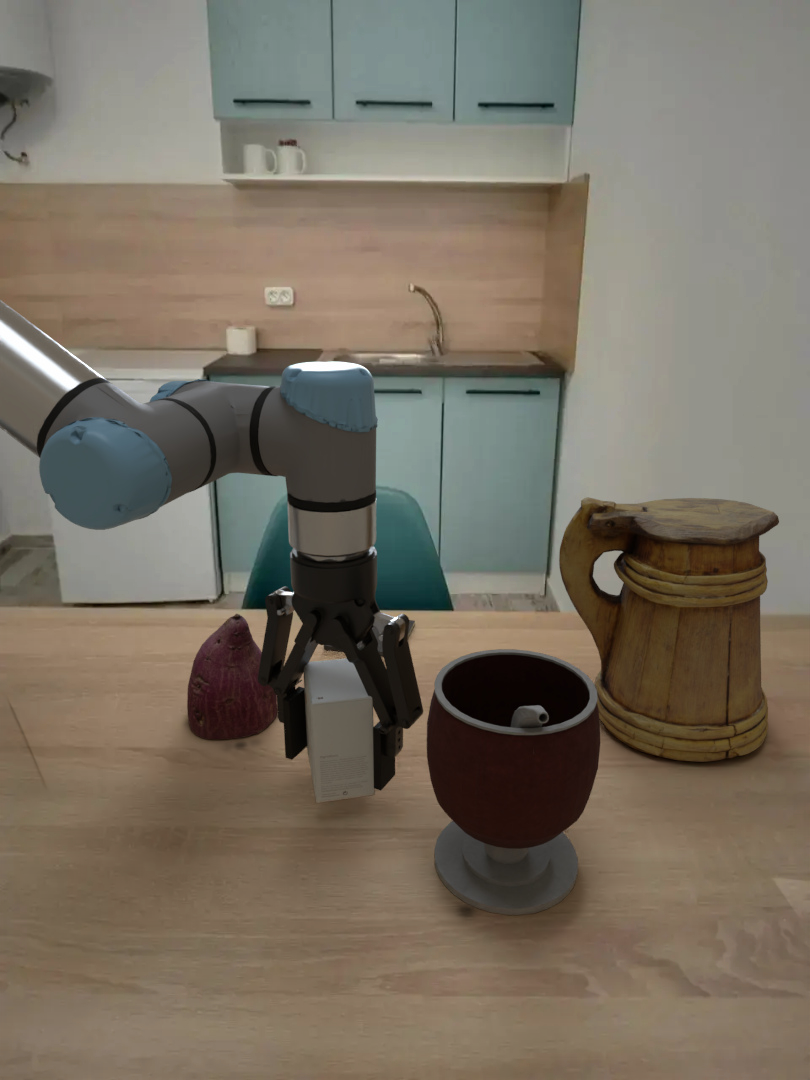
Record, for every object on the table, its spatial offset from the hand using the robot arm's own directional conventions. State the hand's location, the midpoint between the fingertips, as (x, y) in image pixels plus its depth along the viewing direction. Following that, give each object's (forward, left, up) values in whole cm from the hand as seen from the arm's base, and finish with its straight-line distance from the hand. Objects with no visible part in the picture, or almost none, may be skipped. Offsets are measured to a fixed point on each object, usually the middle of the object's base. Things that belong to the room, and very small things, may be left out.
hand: (339, 766), depth 79 cm
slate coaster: (-14, +30, -3) cm, 33 cm away
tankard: (+24, +28, -3) cm, 37 cm away
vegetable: (-18, +6, -3) cm, 19 cm away
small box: (0, 0, -1) cm, 1 cm away
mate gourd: (+18, -2, -3) cm, 18 cm away
